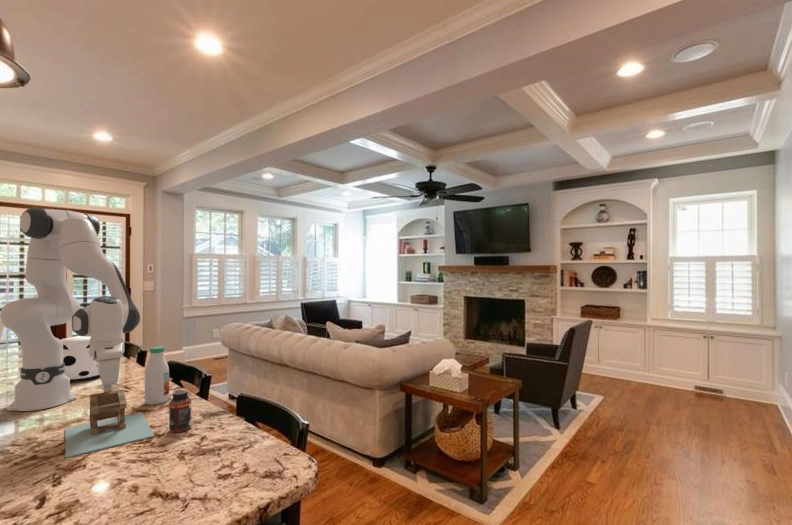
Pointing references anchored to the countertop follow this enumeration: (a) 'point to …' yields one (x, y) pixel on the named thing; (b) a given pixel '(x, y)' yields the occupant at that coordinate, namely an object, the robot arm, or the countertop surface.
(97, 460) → the countertop surface
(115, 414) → the open wooden box
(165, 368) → the milk bottle
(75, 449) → the mat
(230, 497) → the countertop surface
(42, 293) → the robot arm
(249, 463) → the countertop surface
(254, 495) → the countertop surface
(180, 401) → the supplement bottle
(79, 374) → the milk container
